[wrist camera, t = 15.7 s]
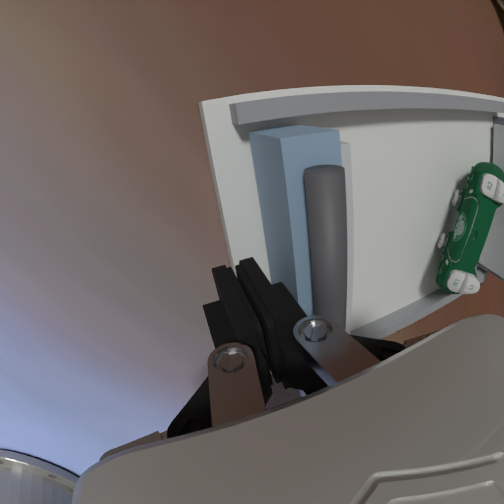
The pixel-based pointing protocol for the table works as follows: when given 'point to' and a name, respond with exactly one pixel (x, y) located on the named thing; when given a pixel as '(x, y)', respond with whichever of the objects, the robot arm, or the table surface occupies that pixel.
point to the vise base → (370, 183)
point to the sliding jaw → (308, 215)
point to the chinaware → (501, 3)
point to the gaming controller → (470, 229)
